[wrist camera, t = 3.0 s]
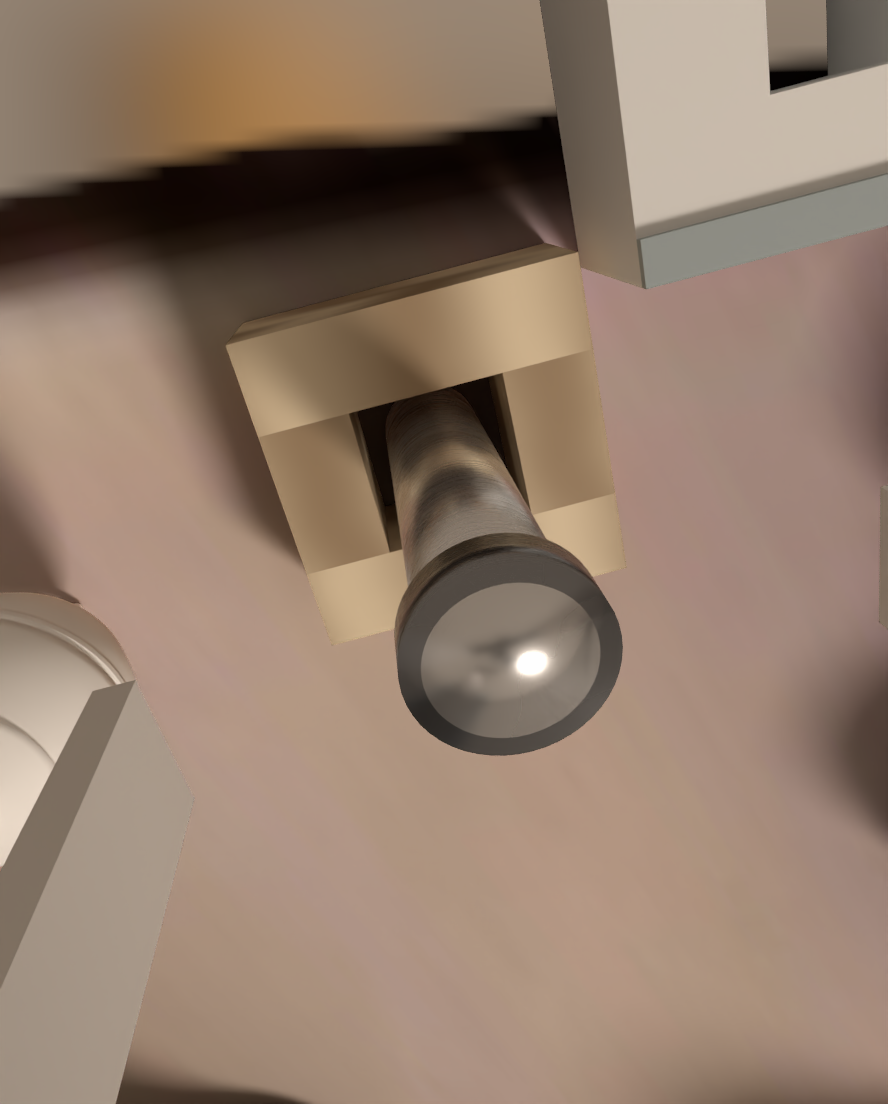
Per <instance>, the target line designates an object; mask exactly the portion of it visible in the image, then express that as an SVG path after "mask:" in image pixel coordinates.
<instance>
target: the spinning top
mask: <svg viewBox="0 0 888 1104" xmlns="http://www.w3.org/2000/svg"><path fill="white" fill-rule="evenodd" d="M133 680H136V682H137V679H136V676H135V673H134V671H133V669H132V667H131V664H130V662H129V660H128V658H127V656H126V655H125V653H124V651H123V649H122V647H121V646H120V644H119V642H118V641H117V639H116V638H115V636H114V635H113V634H112V632H111V631H110V630H109V629H108V628H107V627H106V626H105V625H104V624H103V623H102V622H101V621H100V620H99V619H97V618H96V617H95V616H93V615H92V614H91V613H89V612H88V611H86V610H84V609H83V606H82V605H81V604H79V603H74V604H73V603H71V602H68V601H66V600H63V599H60V598H57V597H54V596H50V595H45V594H39V593H30V592H9V593H0V866H3V865H4V863H5V861H6V859H7V857H8V855H9V853H10V851H11V850H12V848H13V846H14V844H15V842H16V840H17V838H18V836H19V834H20V832H21V830H22V828H23V826H24V824H25V822H26V820H27V818H28V816H29V814H30V812H31V810H32V808H33V806H34V804H35V803H36V801H37V799H38V797H39V795H40V793H41V791H42V789H43V787H44V785H45V783H46V781H47V779H48V777H49V775H50V773H51V771H52V769H53V767H54V765H55V763H56V761H57V759H58V758H59V756H60V754H61V752H62V750H63V748H64V746H65V744H66V742H67V740H68V738H69V736H70V734H71V732H72V730H73V728H74V726H75V724H76V722H77V720H78V718H79V716H80V714H81V712H82V711H83V709H84V707H85V705H86V703H87V701H88V699H89V697H90V695H91V693H92V691H94V690H98V689H102V688H106V687H110V686H114V685H118V684H121V683H125V682H129V681H133ZM137 684H138V682H137ZM138 686H139V685H138Z"/></svg>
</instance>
